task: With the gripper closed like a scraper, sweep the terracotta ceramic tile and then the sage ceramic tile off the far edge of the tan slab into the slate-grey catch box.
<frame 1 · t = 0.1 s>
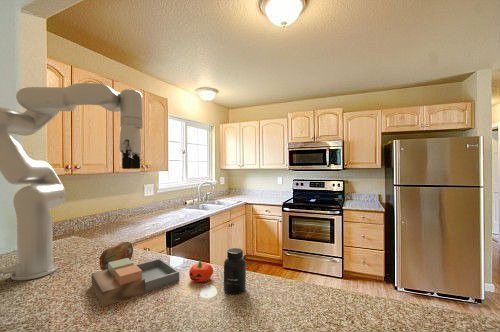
hand: (131, 168, 92), 37 cm above the countertop, tool pointing down, fingers open, 9 cm apart
supplement bottle: (234, 290, 74), on the countertop
tile a: (128, 278, 73), point 4 cm above the countertop, touching tan slab
tin: (117, 267, 92), on the countertop
catch box: (153, 277, 82), on the countertop
pumpkin: (201, 280, 81), on the countertop
tile b: (120, 270, 79), point 4 cm above the countertop, touching tan slab
tan slab: (117, 289, 75), on the countertop
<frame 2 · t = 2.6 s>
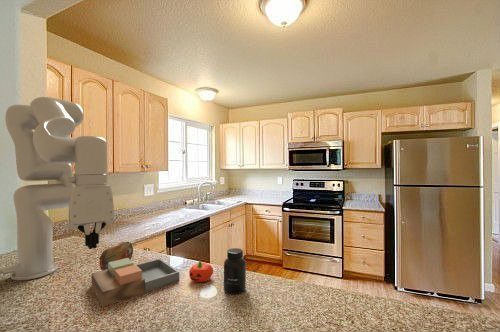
hand: (92, 247, 67), 16 cm above the countertop, tool pointing down, fingers closed
nothing on the countertop moved.
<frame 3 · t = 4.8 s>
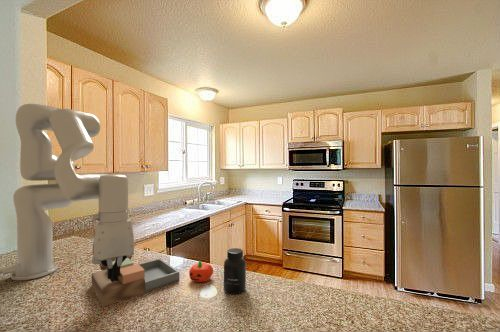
hand: (113, 279, 71), 5 cm above the countertop, tool pointing down, fingers closed
tile a: (131, 277, 74), point 4 cm above the countertop, touching tan slab, gripper
everything else where it was.
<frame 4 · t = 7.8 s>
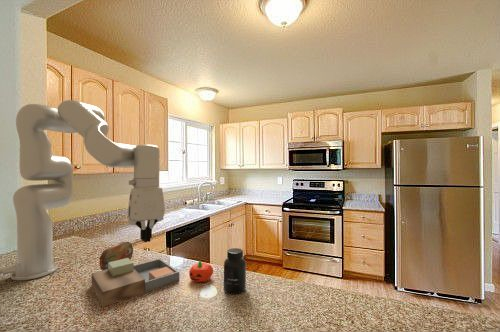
hand: (146, 240, 77), 14 cm above the countertop, tool pointing down, fingers closed
tile a: (161, 271, 80), point 3 cm above the countertop, tilted 180°, touching catch box
everything else where it was.
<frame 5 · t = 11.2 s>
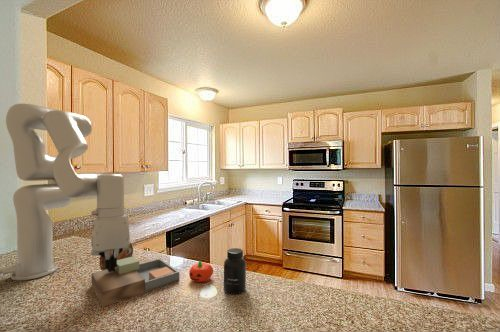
hand: (111, 270, 77), 5 cm above the countertop, tool pointing down, fingers closed
tile b: (126, 268, 81), point 4 cm above the countertop, touching gripper
everything else where it was.
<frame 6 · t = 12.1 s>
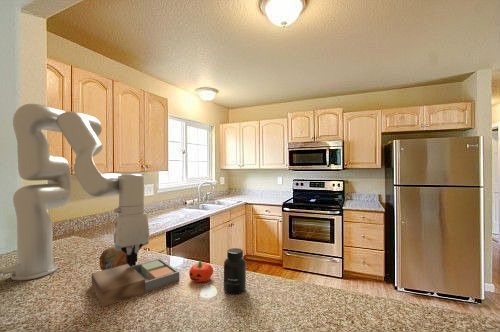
hand: (131, 264, 81), 5 cm above the countertop, tool pointing down, fingers closed
tile b: (152, 264, 86), point 3 cm above the countertop, tilted 180°, touching catch box
everything else where it was.
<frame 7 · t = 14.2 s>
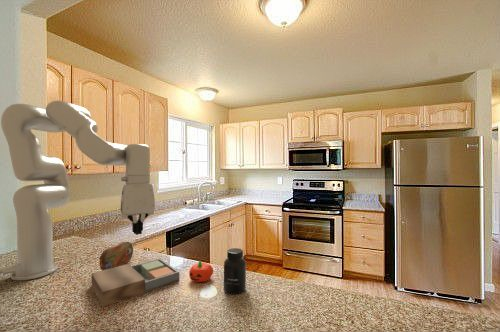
hand: (137, 233, 83), 15 cm above the countertop, tool pointing down, fingers closed
nothing on the countertop moved.
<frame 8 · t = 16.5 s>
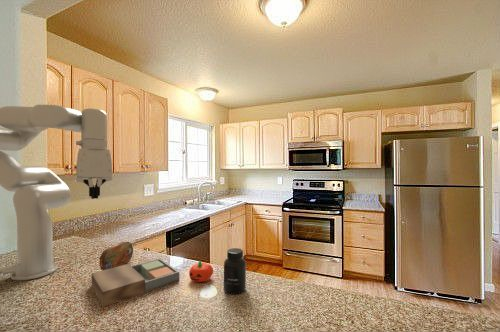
hand: (94, 198, 84), 27 cm above the countertop, tool pointing down, fingers closed
nothing on the countertop moved.
at the end: tile a inside the target area on the catch box (4.4 cm from its centre), point 3.1 cm above the catch box's base; tile b inside the target area on the catch box (3.8 cm from its centre), point 3.1 cm above the catch box's base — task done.
